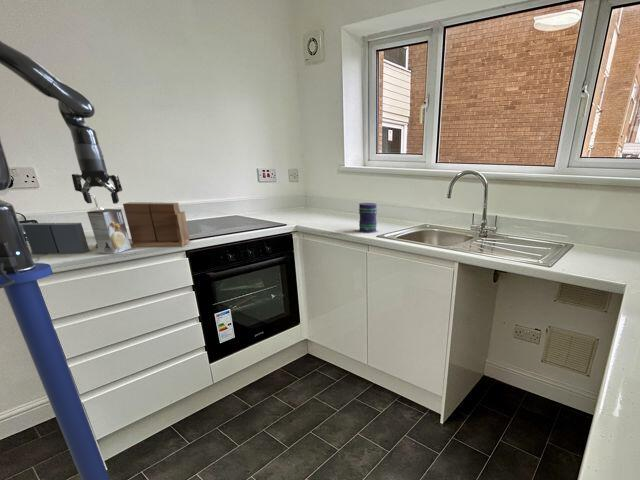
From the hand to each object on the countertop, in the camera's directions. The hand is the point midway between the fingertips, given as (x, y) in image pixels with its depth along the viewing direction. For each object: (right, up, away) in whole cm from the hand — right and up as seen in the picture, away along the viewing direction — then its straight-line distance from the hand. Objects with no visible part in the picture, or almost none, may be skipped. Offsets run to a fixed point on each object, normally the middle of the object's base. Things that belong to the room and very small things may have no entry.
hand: (102, 203), depth 134 cm
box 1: (+4, -11, +19) cm, 22 cm away
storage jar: (+96, +2, +66) cm, 116 cm away
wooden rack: (+3, -13, +19) cm, 23 cm away
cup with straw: (-24, -8, +29) cm, 38 cm away
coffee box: (-1, -18, +7) cm, 19 cm away
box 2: (+13, -11, +21) cm, 27 cm away
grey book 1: (-22, -19, +2) cm, 29 cm away
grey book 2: (-14, -18, +3) cm, 23 cm away
